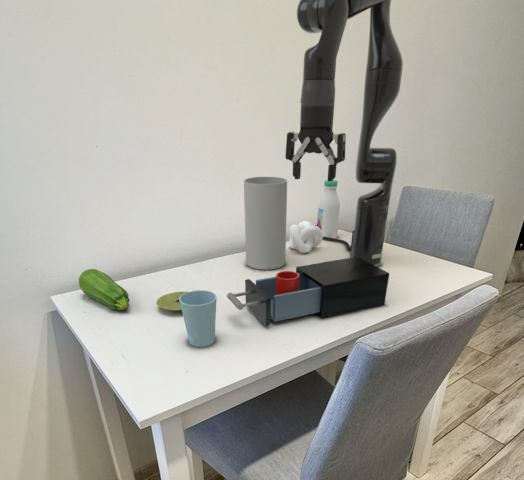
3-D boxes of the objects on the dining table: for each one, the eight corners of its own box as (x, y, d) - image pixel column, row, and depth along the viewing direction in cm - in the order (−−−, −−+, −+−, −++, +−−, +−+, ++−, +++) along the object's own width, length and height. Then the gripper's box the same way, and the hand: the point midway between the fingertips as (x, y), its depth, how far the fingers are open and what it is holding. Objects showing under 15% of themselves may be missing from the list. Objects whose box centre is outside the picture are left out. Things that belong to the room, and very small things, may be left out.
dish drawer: (242, 331, 94) (241, 303, 91) (224, 309, 104) (222, 283, 100) (331, 312, 102) (334, 286, 99) (306, 293, 112) (308, 269, 108)
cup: (177, 339, 93) (172, 296, 87) (206, 329, 97) (203, 287, 92) (196, 353, 88) (191, 308, 83) (226, 341, 92) (223, 298, 87)
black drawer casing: (321, 319, 101) (323, 285, 97) (294, 297, 112) (296, 266, 107) (384, 305, 108) (389, 273, 103) (353, 286, 118) (357, 256, 114)
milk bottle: (339, 235, 161) (344, 179, 150) (333, 241, 155) (338, 183, 144) (320, 233, 163) (323, 178, 153) (313, 238, 157) (317, 181, 147)
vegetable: (89, 260, 113) (127, 281, 101) (105, 279, 118) (143, 301, 106) (68, 278, 111) (104, 301, 98) (85, 297, 116) (122, 321, 104)
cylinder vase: (261, 254, 142) (260, 175, 129) (292, 262, 136) (295, 179, 123) (238, 265, 133) (234, 181, 120) (270, 273, 127) (270, 185, 114)
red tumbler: (272, 303, 104) (272, 273, 100) (291, 300, 106) (292, 269, 102) (281, 312, 100) (282, 280, 96) (301, 308, 102) (303, 277, 97)
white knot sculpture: (310, 257, 139) (311, 230, 134) (278, 251, 144) (279, 225, 140) (325, 248, 147) (327, 222, 142) (295, 243, 153) (295, 218, 148)
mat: (153, 302, 110) (152, 295, 109) (195, 295, 114) (194, 288, 113) (162, 320, 101) (161, 313, 100) (207, 311, 105) (207, 304, 104)
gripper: (352, 103, 95) (346, 179, 104) (294, 103, 101) (292, 175, 109) (343, 104, 90) (336, 184, 98) (281, 104, 95) (280, 180, 103)
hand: (313, 180), depth 104 cm, fingers open, 8 cm apart
